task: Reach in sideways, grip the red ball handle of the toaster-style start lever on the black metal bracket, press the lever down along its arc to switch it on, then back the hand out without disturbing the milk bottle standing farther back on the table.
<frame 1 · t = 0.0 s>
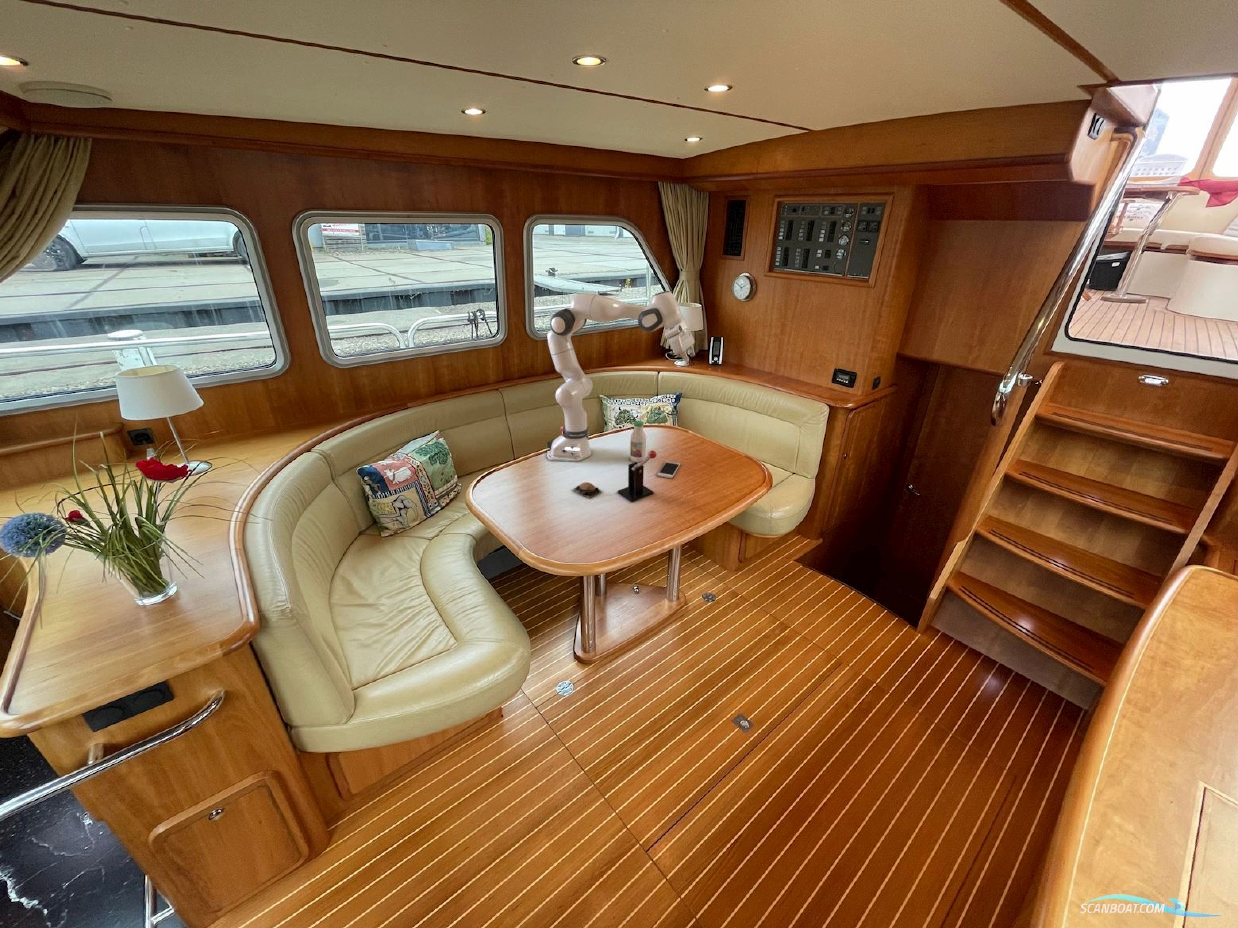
hand: (690, 358, 203), 54 cm above the table, tool tilted 30°, fingers open, 8 cm apart
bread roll: (587, 491, 211), on the table
lever: (644, 461, 206), point 14 cm above the table, hinge at 25.0°
smartphone: (669, 470, 229), on the table
milk bottle: (637, 459, 240), on the table
bracket: (635, 493, 209), on the table
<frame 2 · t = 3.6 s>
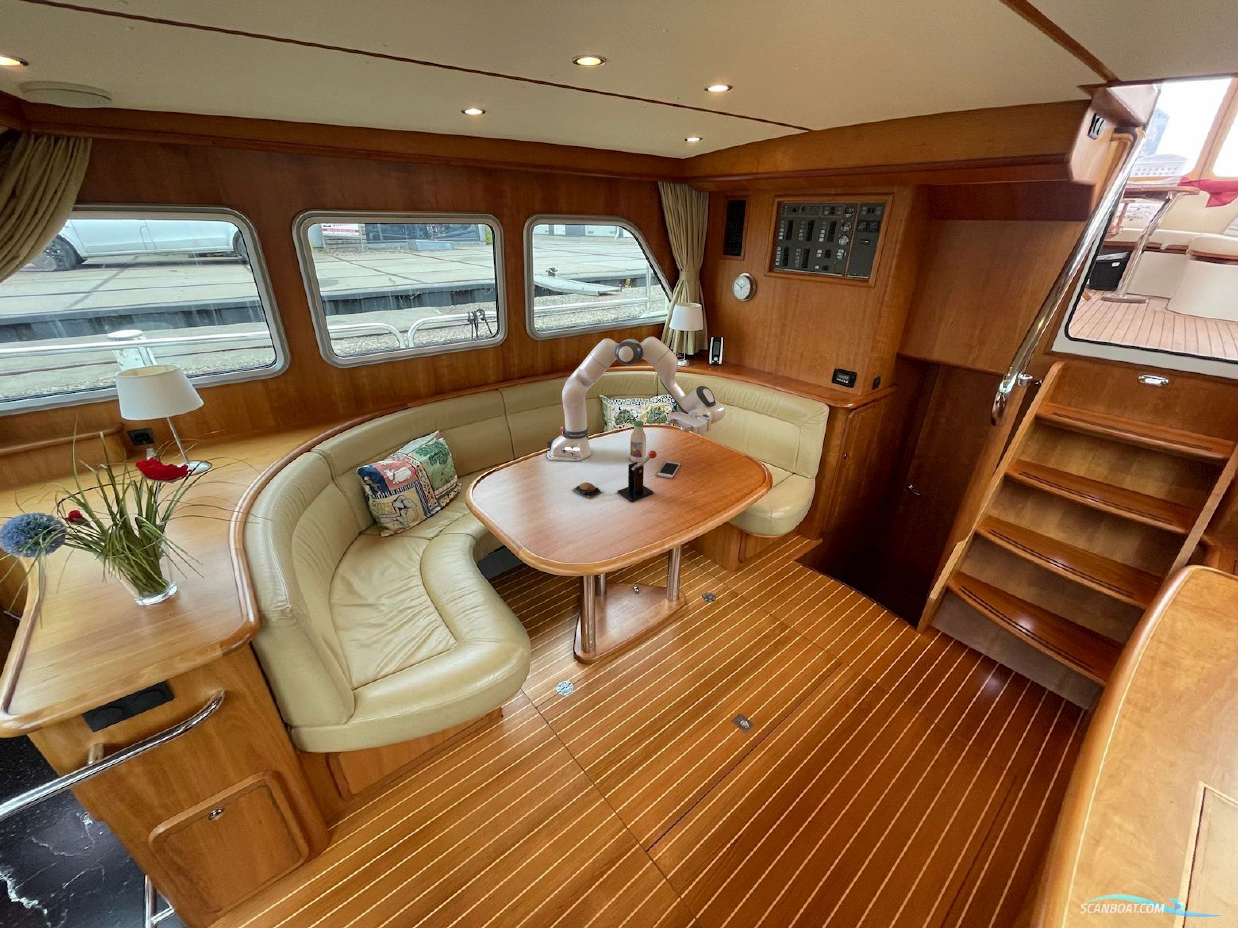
hand: (673, 426, 209), 26 cm above the table, tool horizontal, fingers open, 8 cm apart
nothing on the table moved.
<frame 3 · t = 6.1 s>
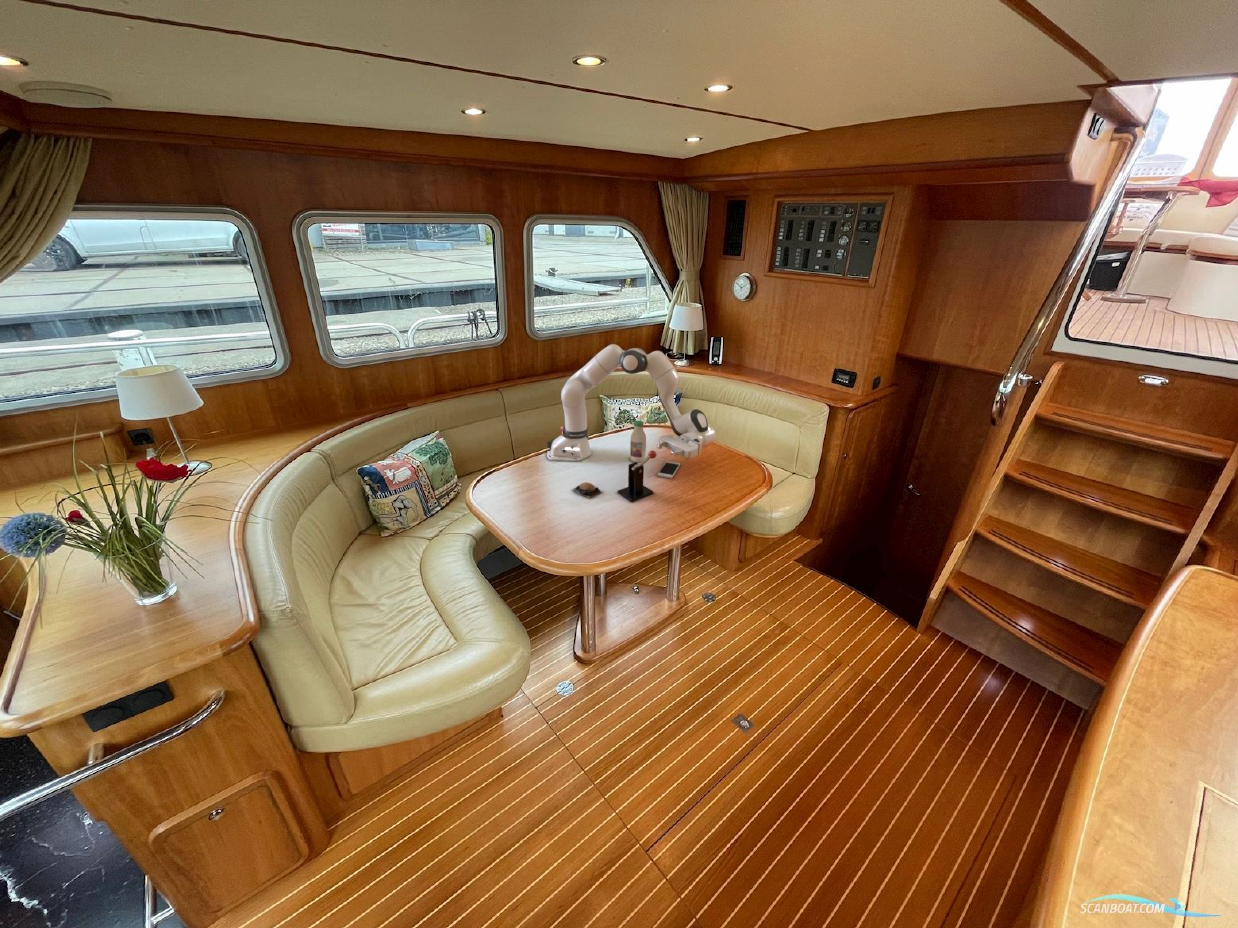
hand: (665, 450, 211), 16 cm above the table, tool horizontal, fingers open, 8 cm apart
nothing on the table moved.
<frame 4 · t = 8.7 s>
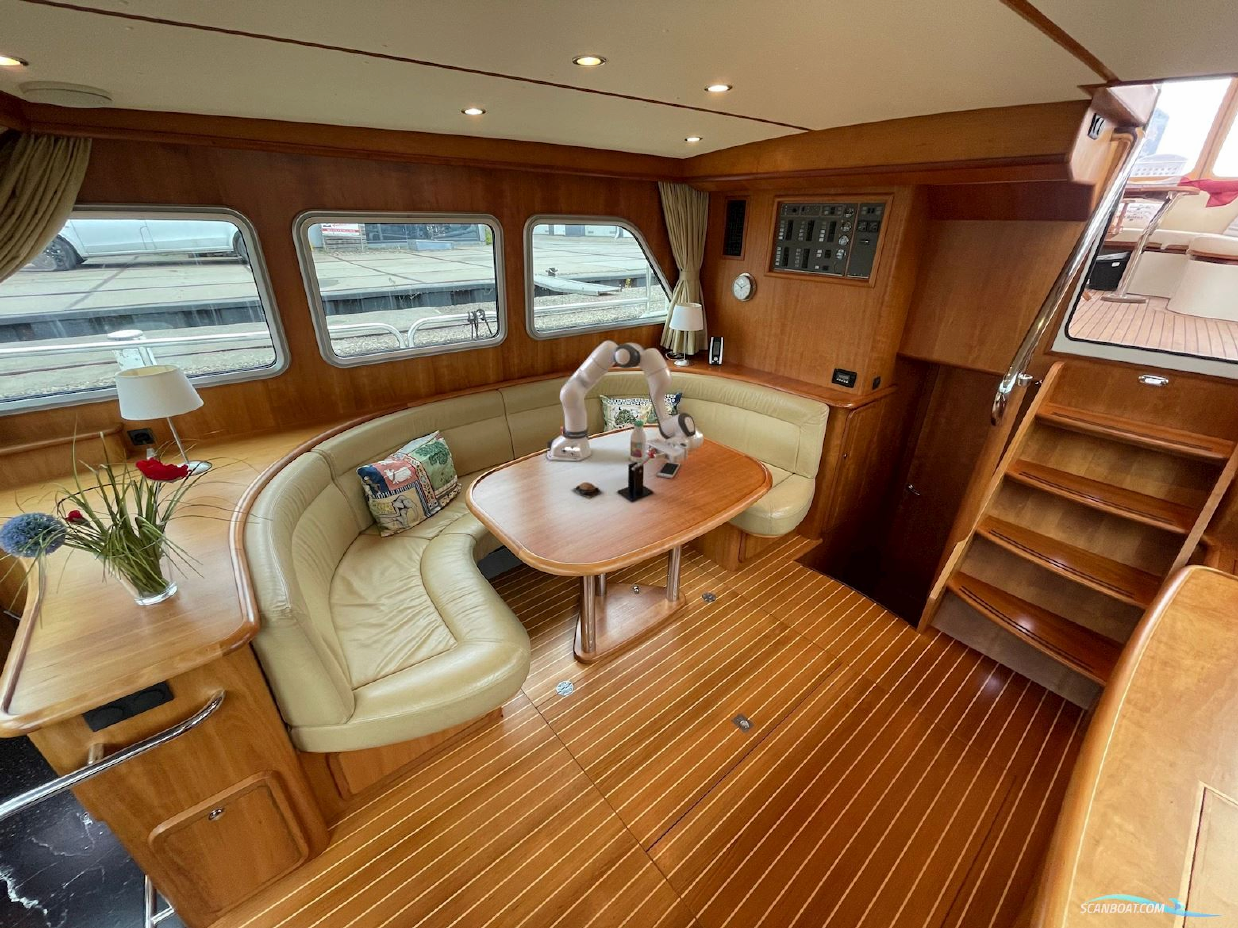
hand: (650, 455, 207), 16 cm above the table, tool horizontal, fingers closed on lever, 3 cm apart
lever: (644, 461, 206), point 14 cm above the table, hinge at 25.0°, touching gripper
everything else where it was.
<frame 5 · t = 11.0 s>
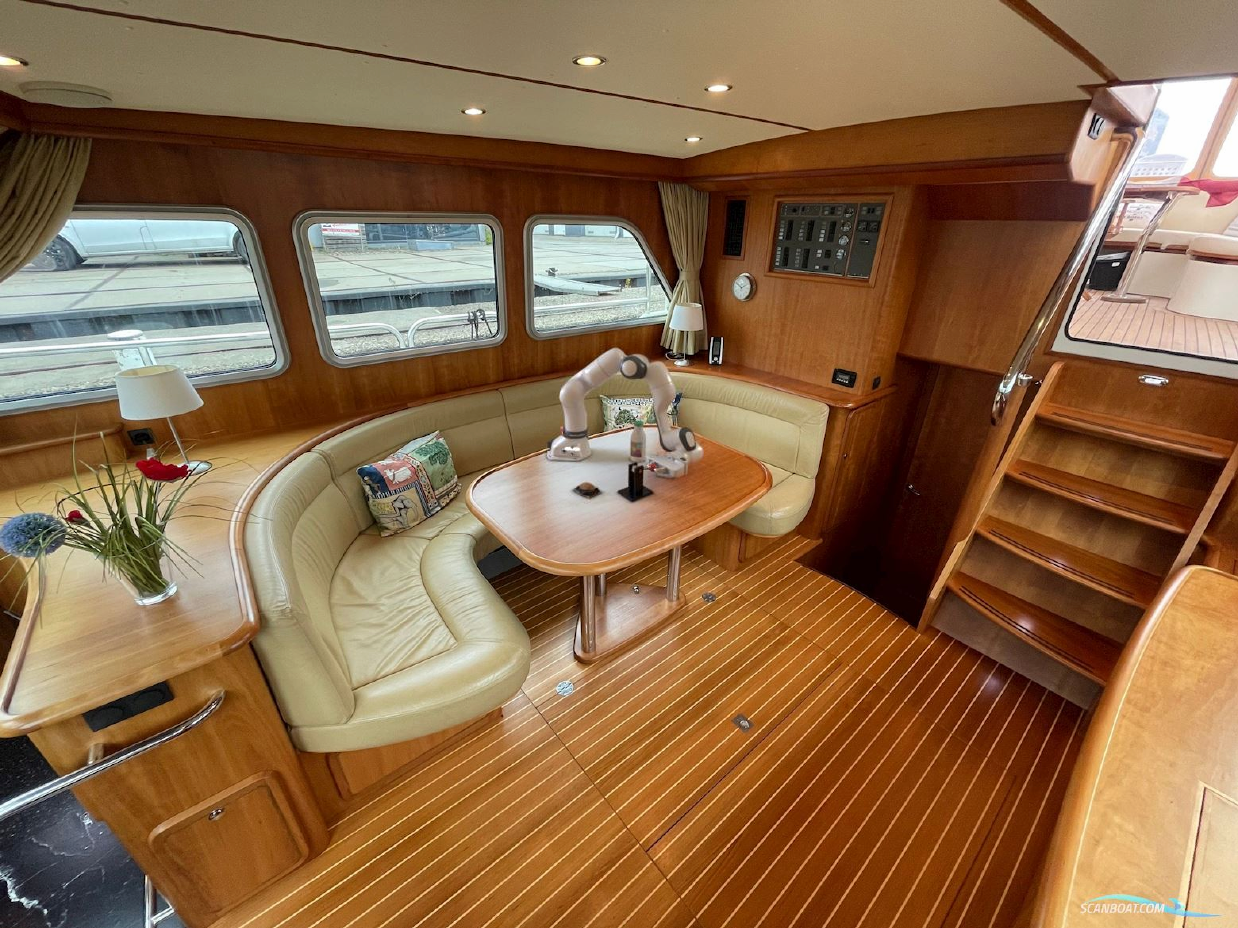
hand: (651, 469, 210), 9 cm above the table, tool horizontal, fingers closed on lever, 3 cm apart
lever: (644, 468, 207), point 11 cm above the table, hinge at -14.7°, touching gripper
everything else where it was.
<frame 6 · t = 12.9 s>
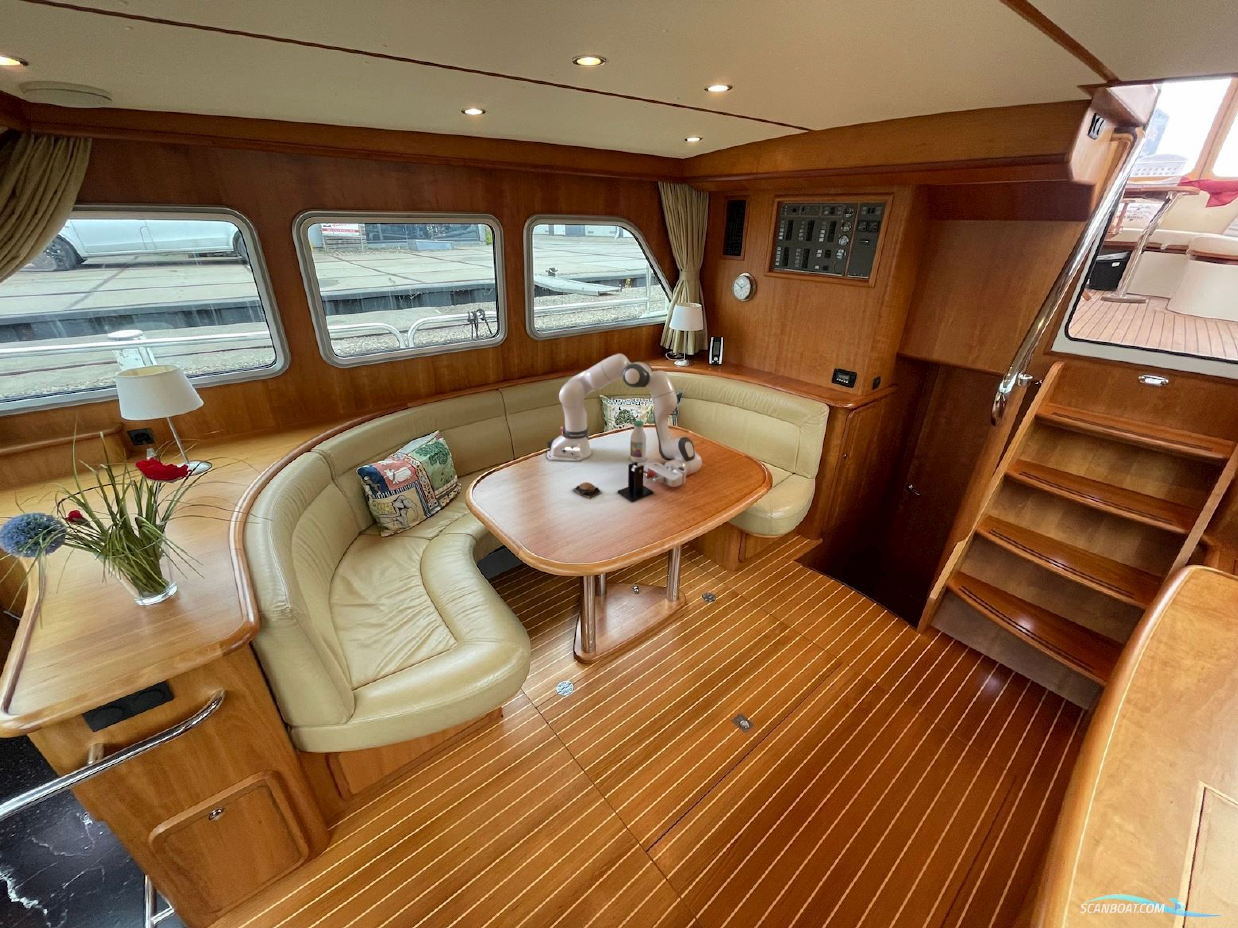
hand: (649, 478, 211), 5 cm above the table, tool horizontal, fingers open, 3 cm apart
lever: (643, 471, 208), point 9 cm above the table, hinge at -30.5°
everything else where it was.
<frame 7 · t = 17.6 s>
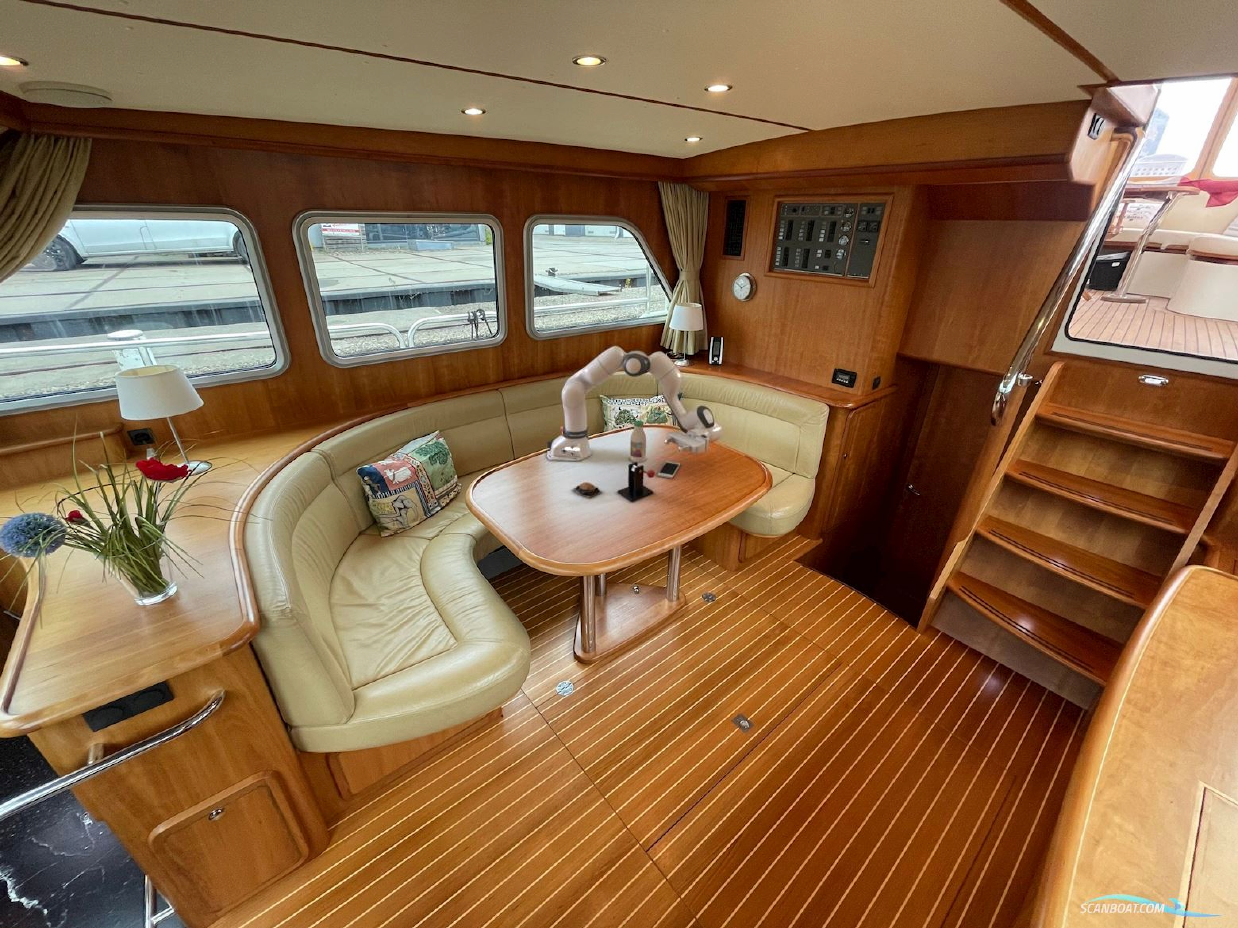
hand: (672, 445, 213), 17 cm above the table, tool horizontal, fingers open, 8 cm apart
nothing on the table moved.
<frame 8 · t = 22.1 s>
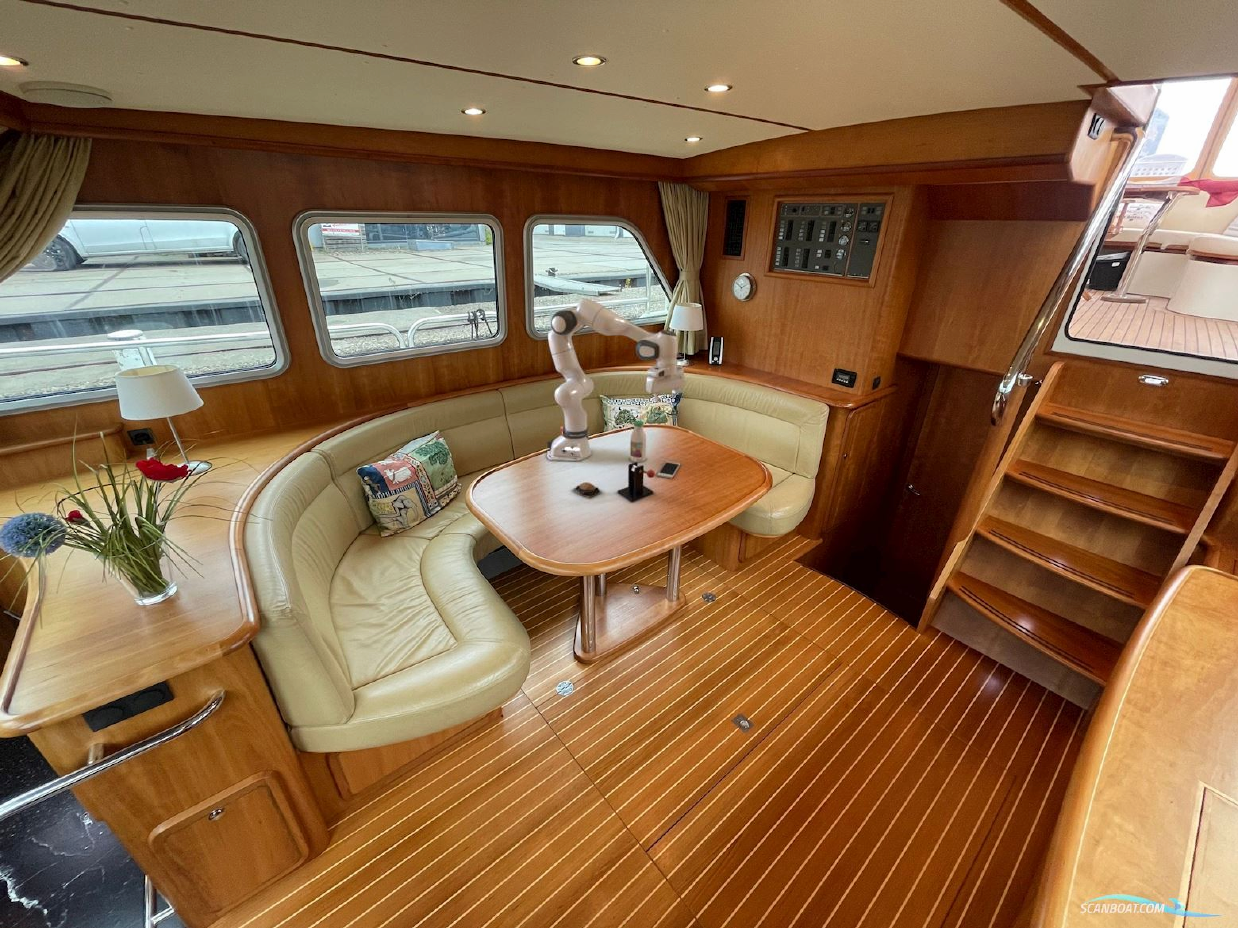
hand: (665, 399, 215), 35 cm above the table, tool pointing down, fingers open, 8 cm apart
nothing on the table moved.
at the end: lever at -30° (first picture: +25°); lever reached -33° during the clip, -30° at the end; milk bottle moved 0.2 cm from its start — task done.
